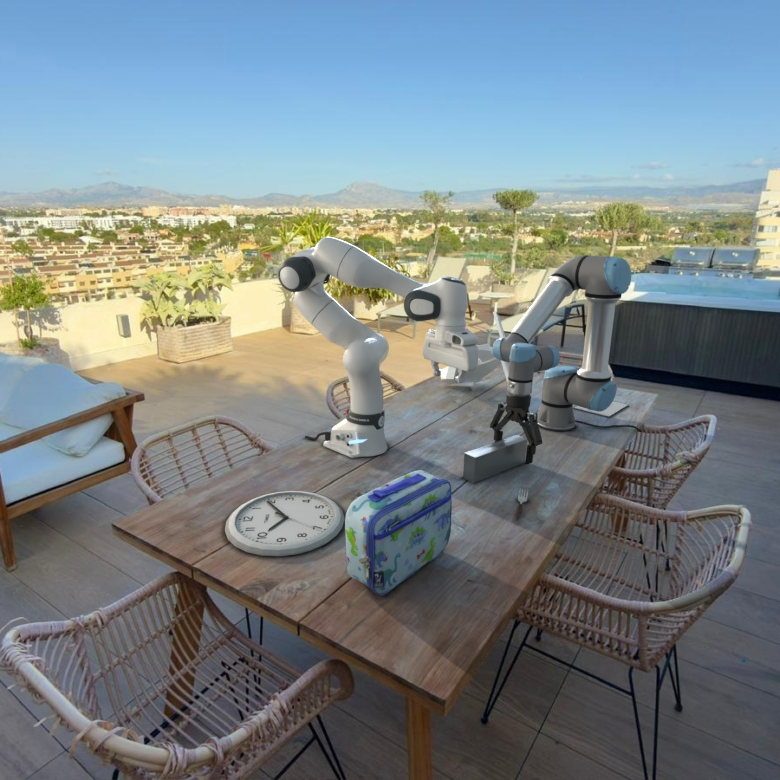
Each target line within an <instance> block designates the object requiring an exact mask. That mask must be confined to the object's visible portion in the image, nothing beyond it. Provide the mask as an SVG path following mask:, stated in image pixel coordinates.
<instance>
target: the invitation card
mask: <svg viewBox="0 0 780 780" xmlns="http://www.w3.org/2000/svg"><path fill="white" fill-rule="evenodd" d="M628 406H629V404H627V403H623V402H618V401H614V400H613V402H612V403H611V404H610V406H609V407H608V408H607V409H605V410H604V411H601V412H598V411H594V410H589V409H586V408H583V407H580V406H577V405H575V406H574V407H573V409H575V410H581V411H584V412H587V413H593V414H596V415H600V416H604V417H608V418H609V417H611V416H613V415H614V414H616V413H617V412H619V411H621V410H623V409H624V408H626V407H628Z"/></svg>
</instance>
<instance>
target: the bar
mask: <svg viewBox="0 0 780 780" xmlns="http://www.w3.org/2000/svg"><path fill="white" fill-rule="evenodd" d="M527 445H528V440H527V437H524V436H521V435H518V434H515V435H512V436H509V437H506V438H502V440H500V441H497V442H495V441H494V442H492V443H489V444H486V445H483V446H480V447H477V448H474V449H472V450H469V451H466V452H464V453H463V468H462V478H463V479H464V480H466V481H468V482H470V483H472V484H475V483H478V482H480V481H483V480H486V479H488V478H490V477H492V476H495V475H498V474H500V473H502V472H505V471H507V470H510V469H512V468H515V467H518V466H520V465H523V464H525V460H526V451H527Z"/></svg>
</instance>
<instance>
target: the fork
mask: <svg viewBox="0 0 780 780" xmlns="http://www.w3.org/2000/svg"><path fill="white" fill-rule="evenodd" d="M526 490H527V488H525V489H521V487H519V492H518V495H517V501H518V502H519V505H518V507H517V508H516V509H517V510H516V521H518V520H519V518H520V515H521V513H522V511H523V503H526V502H527V501H528V495H529V490H527V491H526Z"/></svg>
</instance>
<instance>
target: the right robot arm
mask: <svg viewBox="0 0 780 780" xmlns="http://www.w3.org/2000/svg"><path fill="white" fill-rule="evenodd" d="M546 283H547V285H546V286H545V287H544V289H542V292H540V294H539V295H538V296H537V298H536V299H535V300H534V302H532V304H531V305H530V307H529V308H528V309H527V311H526V312H525V313H524V314H523V316H522V317H521V319H519V321H518V322H517V324H516V325H515V326H514V328H513V329H512V330H511V331H510V333H509V334H508V335H507V336H506V338H500V337H499V338H497V339H496V340H495V341H494V342H493V344H492V347H491V348H492V352H493V355H494V357H495V358H497V359H499V360H502V361H504V362H507V363H508V368H509V376H508V384H507V386H506V396H505V401H503V402H500V403H498V404H497V409H496V411H495V414H494V415H493V418H492V420H491V421H490V423H489V428H490V429H492V430H493V441H494V442H497V441H500V440H503V433H504V431H503V429H504V428H505V426H506V425H507V424H508V423H509V422H510V421H512V422H515V423H516V424H519V426H520V427H521V429H522V431H523V433H524V435H525V438H526V439H527V448H526V457H525V463H524V464H525V465H530V464H532V463H533V460H534V455H536V453H537V452H536V451H537V446H541V445H542V444H543V439H542V435H541V430H540V428H542V429H544V430H549V431H556V432H567V431H572V430H574V429H575V428H576V423H577V424H582V425H585V426H589V427H591V428H592V427H593V428H598V429H611V428H632V429H635V430H636V431H637V432H639V433H642V432H643V431H642V429H640V428H639V427H637V426H635V425H632V424H612V425H597V424H593V423H589V422H585V421H581V420H578V419H576V418H575V417H576V416H575V413H574V407H573V405H574V406H580V407H583V408H586V409H589V410H594V411H598V412H601V411H604V410H605V409H607V408H608V407H609V406H610V404H611V403H612V402H613V401H614V400H615V398H616V394H617V389H618V387H617V384H616V382H614V381H613V380H612V373H611V372H610V371H609V369H608V367H609V359H610V353H611V352H610V351H611V343H612V335H613V327H614V321H615V320H614V319H615V312H616V303H617V302H618V301H619V300H621V299H622V295H623V294H626V293H627V292H628V290H629V288H630V286H631V283H632V269H631V266H630V264H629V263H628V261H627V260H626V259H624V258H623V257H617V256H613V255H612V256H611V255H609V256H608V255H588V254H581V255H576V256H574V257H572V258H571V259H569V260H566V261H565V262H563V263H562V264H561V265H560V266H559V267H558V268H556V269H555V270H554V271H553V272H552V274H551V275H550V276H549V277H548V279H547V282H546ZM577 290H583V291H584V298H585V299H586V300H587V301H588V305H587V315H586V316H587V317H586V326H585V335H584V344H583V345H584V346H583V353H582V364H581V367H580V368H579V369H578V368H577V367H576V366H571V365H570V366H569V365H559V364H560V362H561V353H560V351H559V349H558V348H557V347H556V346H553V345H546V344H545V345H542V346H541V345H536V344H532V342H533V341H534V339H535V338H536V337H537V335H538V334H539V333H540V332H541V330H542V329H543V327H544V326H545V325H546V323H547V322H548V321H549V319H550V318H551V317H552V315H553V314H554V313H555V312H556V310H557V309H558V308H559V306H560V305H561V304H562V302H563V301H564V300H565V298H566V297H570V296H571V295H572V294H573V292H575V291H577ZM543 371H544V375H543V378H542V379H543V381H542V382H543V383H542V394H541V402H540V405H539V407H538V409H537V411H536V412H534V413H533V412H530V410H529V409H530V407H531V403H532V402H531V401H532V395H531V394H532V392H533V382H534V374H535V373H538V372H543ZM504 413H506V414H505V415H504Z"/></svg>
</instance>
